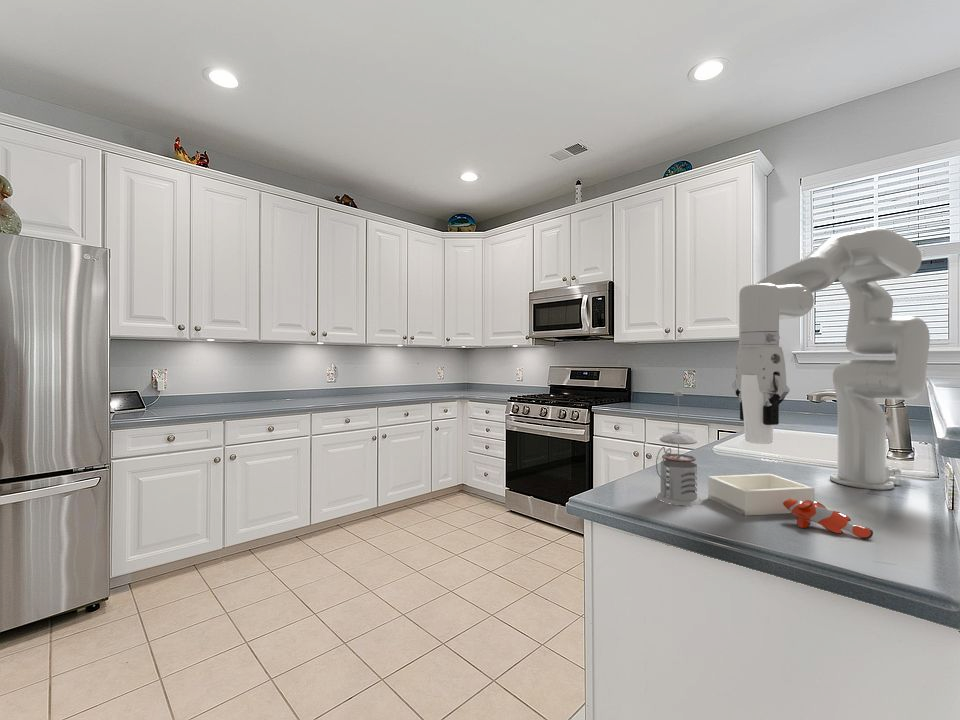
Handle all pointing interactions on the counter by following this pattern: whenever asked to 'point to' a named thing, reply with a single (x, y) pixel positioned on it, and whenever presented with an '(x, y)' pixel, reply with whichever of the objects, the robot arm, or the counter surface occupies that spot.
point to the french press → (678, 470)
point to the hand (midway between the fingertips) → (758, 421)
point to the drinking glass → (754, 411)
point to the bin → (756, 493)
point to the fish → (824, 518)
